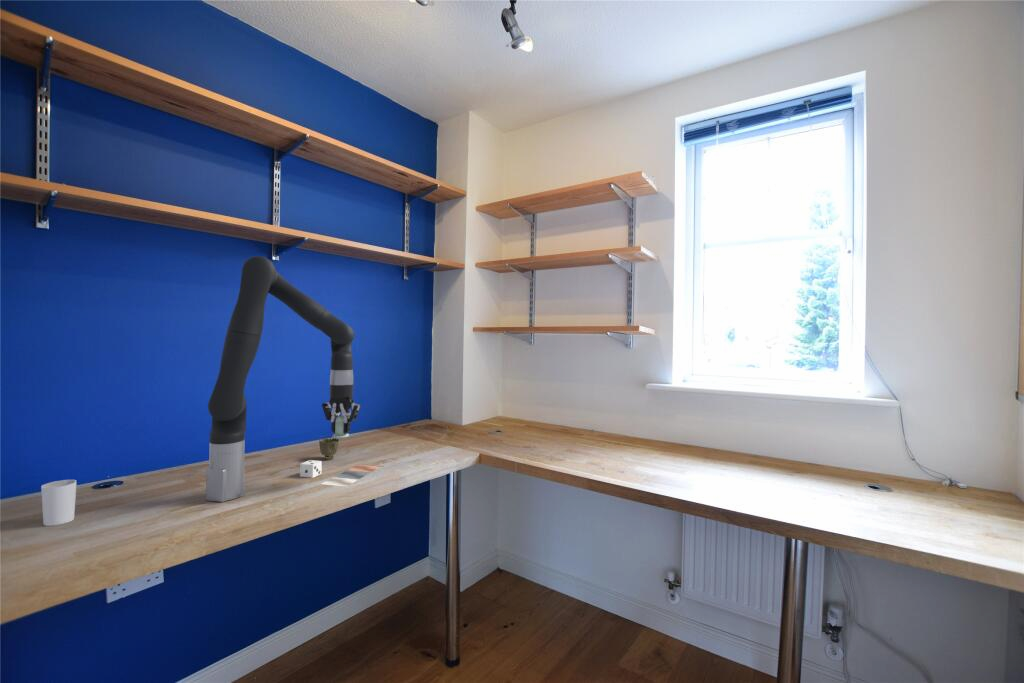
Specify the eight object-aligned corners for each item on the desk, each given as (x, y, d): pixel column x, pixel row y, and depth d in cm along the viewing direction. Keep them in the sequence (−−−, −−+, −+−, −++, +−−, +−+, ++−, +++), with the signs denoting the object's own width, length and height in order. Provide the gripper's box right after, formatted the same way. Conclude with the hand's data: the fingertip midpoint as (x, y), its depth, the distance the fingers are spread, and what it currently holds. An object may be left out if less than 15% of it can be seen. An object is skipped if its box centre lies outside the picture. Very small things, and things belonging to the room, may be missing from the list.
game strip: (346, 488, 147) (346, 487, 147) (316, 485, 149) (316, 484, 149) (383, 467, 172) (383, 466, 172) (357, 464, 174) (357, 463, 174)
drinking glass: (83, 515, 122) (83, 479, 122) (62, 525, 116) (63, 487, 116) (55, 516, 121) (55, 480, 121) (33, 527, 115) (33, 488, 115)
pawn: (343, 438, 150) (343, 416, 150) (329, 437, 151) (329, 416, 151) (351, 435, 155) (352, 414, 155) (338, 434, 156) (338, 413, 156)
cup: (331, 462, 177) (331, 442, 177) (314, 460, 179) (315, 440, 179) (342, 457, 184) (342, 438, 184) (326, 456, 186) (326, 436, 186)
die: (312, 479, 157) (312, 464, 156) (299, 478, 158) (300, 463, 157) (321, 474, 161) (321, 460, 161) (309, 473, 162) (309, 459, 162)
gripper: (316, 383, 150) (315, 434, 151) (354, 384, 148) (353, 436, 148) (329, 381, 158) (328, 429, 158) (366, 382, 155) (365, 432, 155)
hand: (340, 432), depth 153 cm, fingers closed on pawn, 3 cm apart
